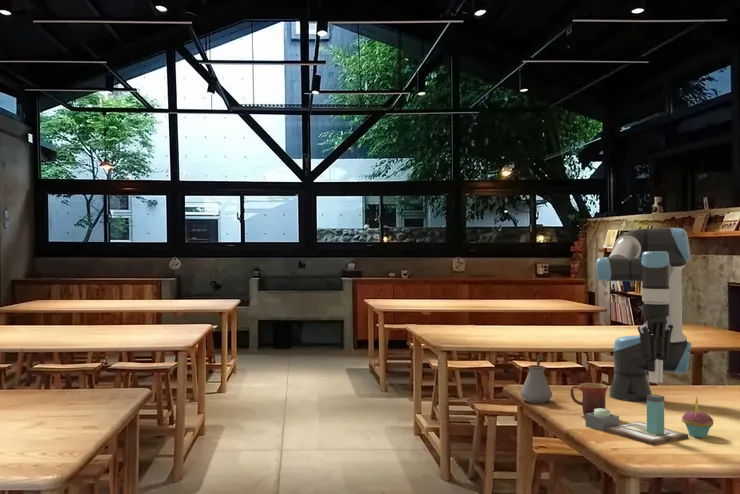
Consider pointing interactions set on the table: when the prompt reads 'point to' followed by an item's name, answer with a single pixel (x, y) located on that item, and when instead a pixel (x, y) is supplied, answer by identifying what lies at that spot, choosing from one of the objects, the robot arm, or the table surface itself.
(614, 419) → the button frame
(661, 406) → the grey and mint block
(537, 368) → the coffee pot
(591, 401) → the mug
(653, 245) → the robot arm
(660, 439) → the picture frame
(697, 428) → the donut
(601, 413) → the button
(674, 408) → the table surface
